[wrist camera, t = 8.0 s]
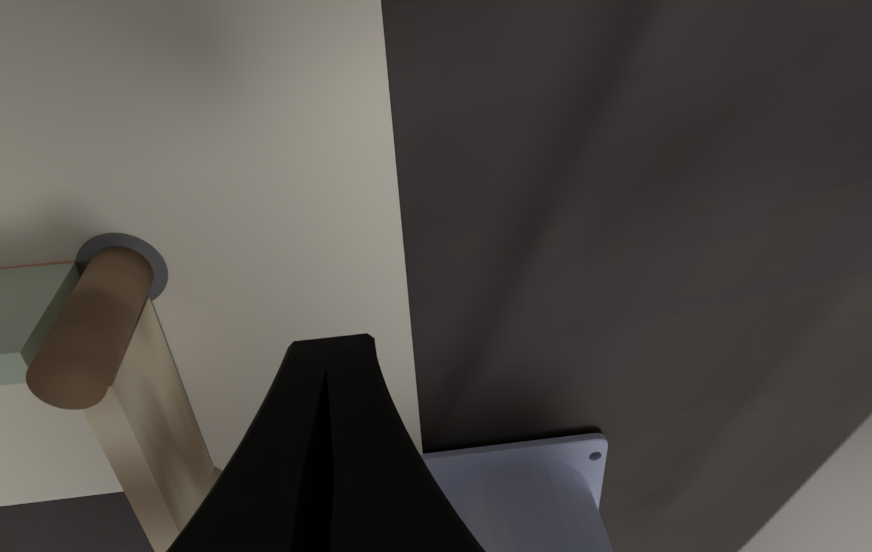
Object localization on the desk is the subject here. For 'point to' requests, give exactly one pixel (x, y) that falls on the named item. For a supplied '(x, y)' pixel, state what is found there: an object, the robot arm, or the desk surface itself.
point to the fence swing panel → (30, 313)
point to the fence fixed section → (127, 392)
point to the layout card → (202, 198)
